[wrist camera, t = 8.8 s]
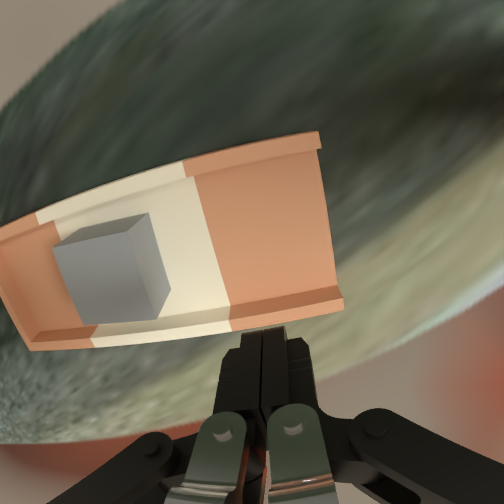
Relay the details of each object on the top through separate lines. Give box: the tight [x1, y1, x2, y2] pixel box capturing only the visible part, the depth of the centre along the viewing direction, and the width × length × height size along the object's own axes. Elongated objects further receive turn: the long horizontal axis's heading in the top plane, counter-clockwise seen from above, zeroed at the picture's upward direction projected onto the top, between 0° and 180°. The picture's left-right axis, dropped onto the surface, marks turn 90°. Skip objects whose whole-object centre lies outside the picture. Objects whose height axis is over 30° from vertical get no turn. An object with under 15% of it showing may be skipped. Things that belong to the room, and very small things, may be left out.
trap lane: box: [0, 131, 344, 351], centre depth 21 cm, size 29×12×2 cm, turn 103°
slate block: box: [52, 212, 171, 325], centre depth 20 cm, size 6×6×4 cm
